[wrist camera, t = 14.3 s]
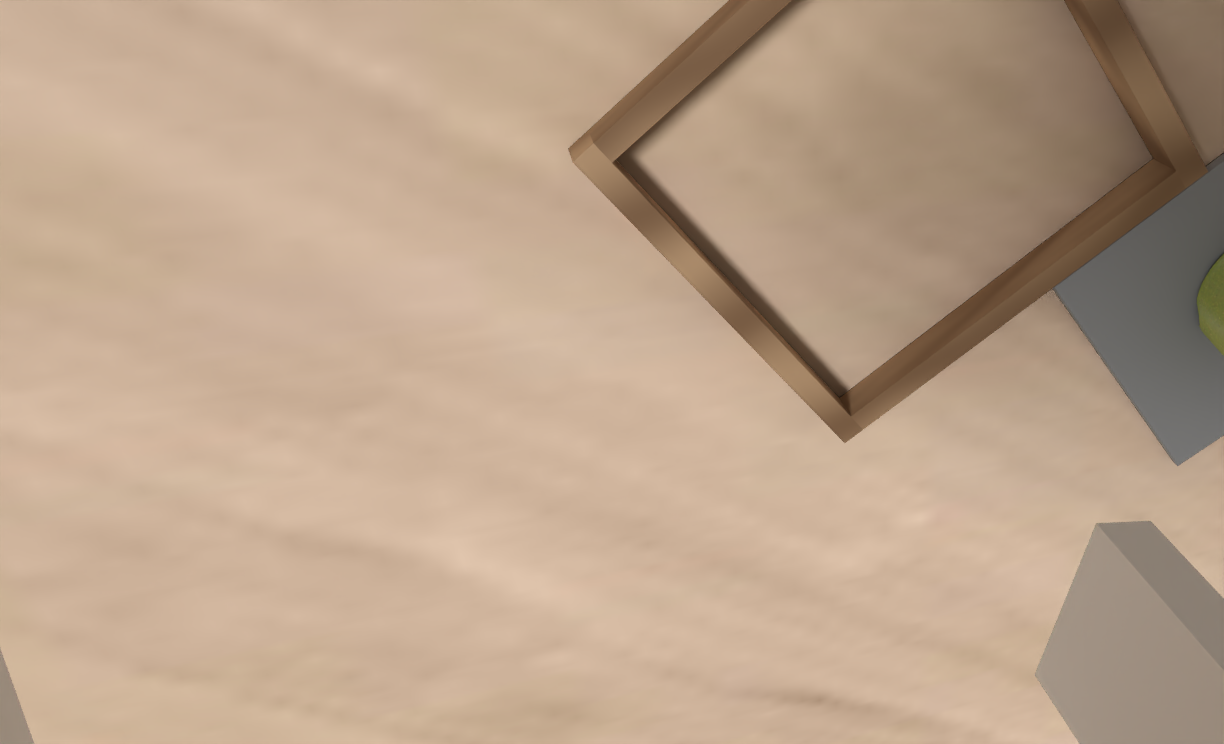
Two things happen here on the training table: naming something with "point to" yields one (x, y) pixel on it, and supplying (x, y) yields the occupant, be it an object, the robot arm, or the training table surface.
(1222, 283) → the plant pot
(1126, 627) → the robot arm
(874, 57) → the training table surface
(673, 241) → the tray frame
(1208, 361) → the mat
